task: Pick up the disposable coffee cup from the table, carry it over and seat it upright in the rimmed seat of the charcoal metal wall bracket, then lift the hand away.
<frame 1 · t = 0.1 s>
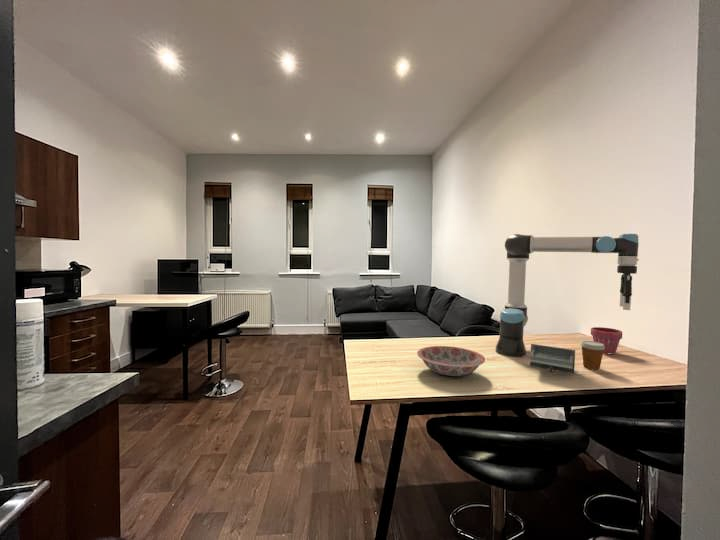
hand: (624, 308, 164), 28 cm above the table, tool pointing down, fingers open, 13 cm apart
disposable coffee cup: (591, 368, 158), on the table
plant pot: (605, 352, 186), on the table
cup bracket: (550, 373, 149), on the table
ceramic bowl: (449, 373, 148), on the table
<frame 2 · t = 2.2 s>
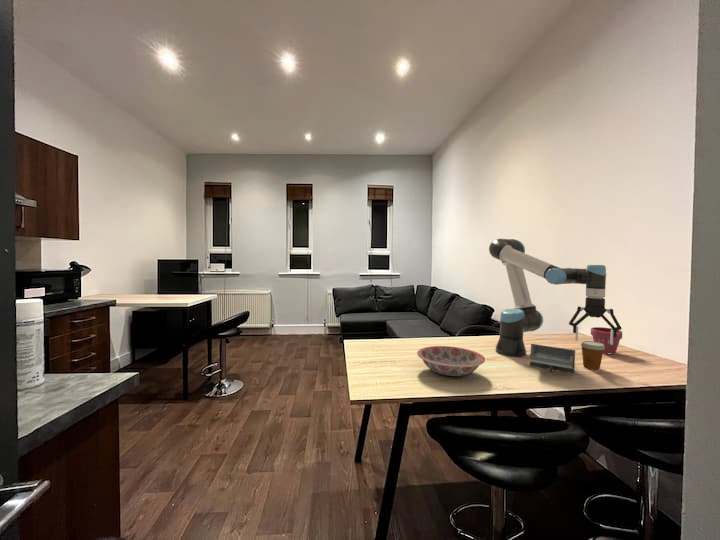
hand: (593, 342, 157), 13 cm above the table, tool pointing down, fingers open, 13 cm apart
nothing on the table moved.
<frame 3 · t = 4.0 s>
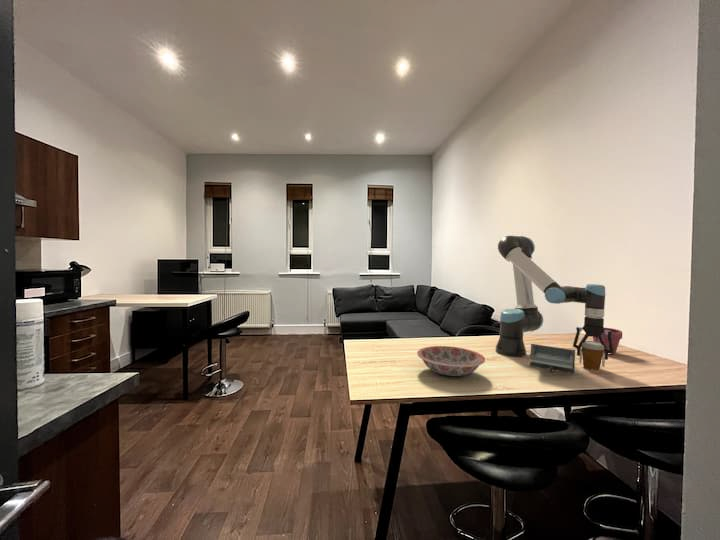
hand: (591, 364, 158), 2 cm above the table, tool pointing down, fingers closed on disposable coffee cup, 8 cm apart
disposable coffee cup: (591, 368, 158), on the table, touching gripper
everything else where it was.
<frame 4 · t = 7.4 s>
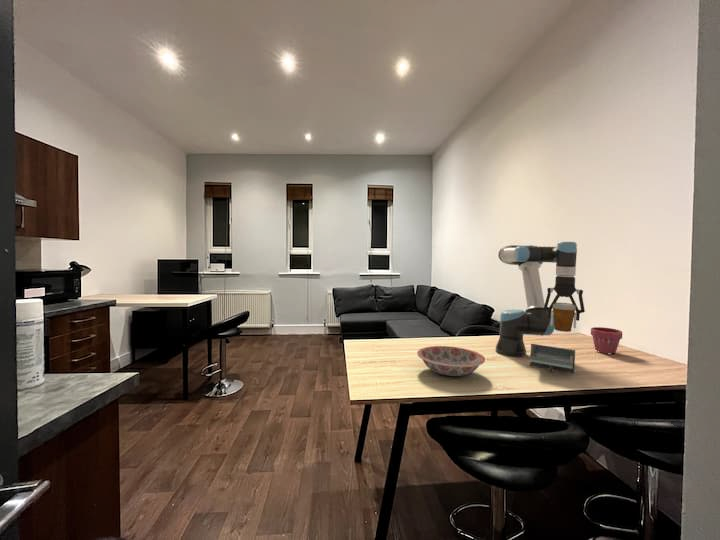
hand: (562, 326, 150), 21 cm above the table, tool pointing down, fingers closed on disposable coffee cup, 8 cm apart
disposable coffee cup: (562, 330, 150), point 19 cm above the table, touching gripper
everything else where it was.
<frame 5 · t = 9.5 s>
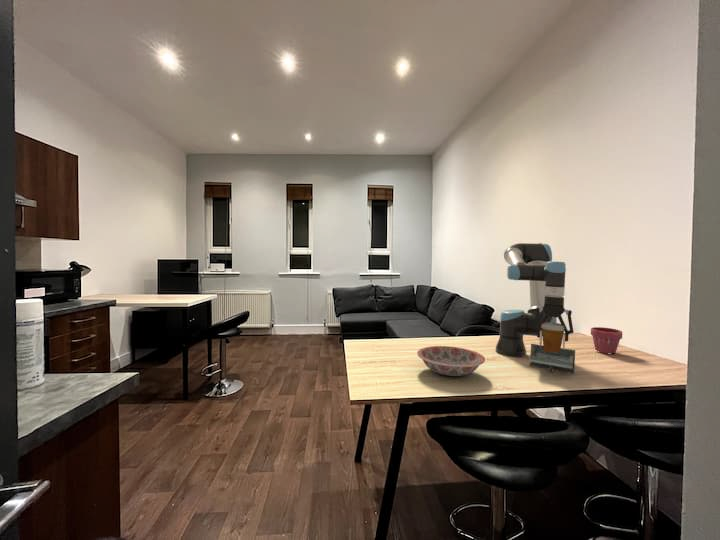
hand: (551, 346, 148), 12 cm above the table, tool pointing down, fingers closed on disposable coffee cup, 8 cm apart
disposable coffee cup: (551, 351, 148), point 10 cm above the table, touching gripper
everything else where it was.
when the fingers open (10 cm above the table, at t = 10.9 s): disposable coffee cup moves 4 cm, point 7 cm above the table.
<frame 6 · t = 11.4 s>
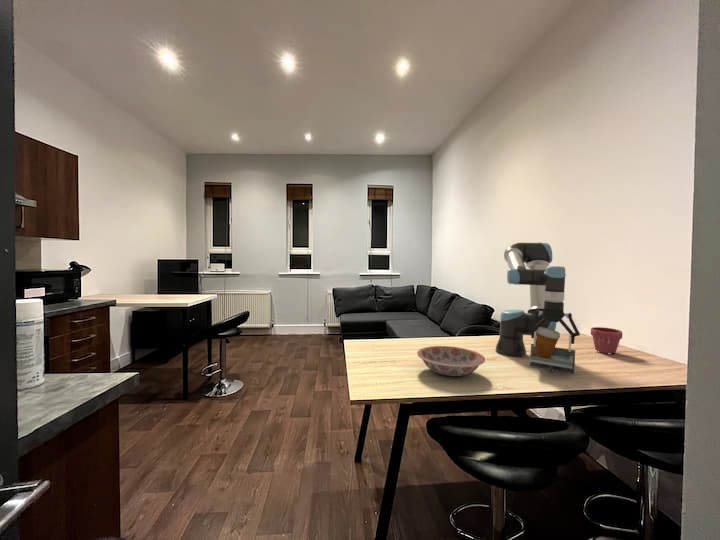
hand: (551, 348, 148), 12 cm above the table, tool pointing down, fingers open, 13 cm apart
disposable coffee cup: (542, 356, 150), point 7 cm above the table, touching gripper
everything else where it was.
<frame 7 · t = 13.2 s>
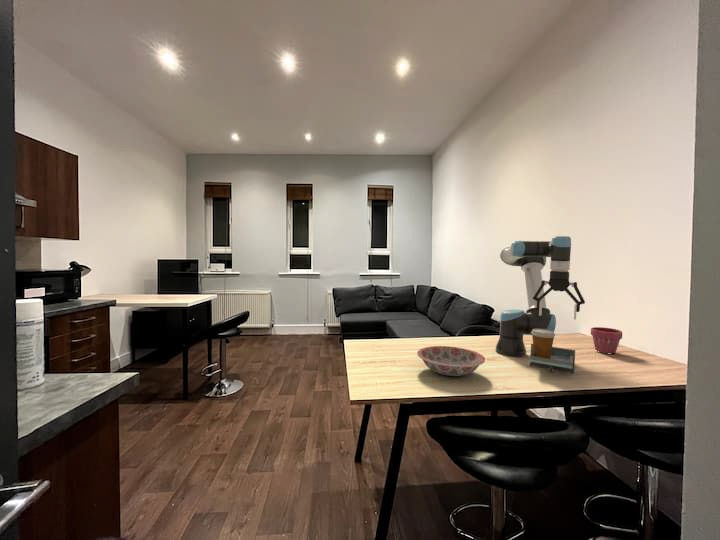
hand: (557, 317, 151), 25 cm above the table, tool pointing down, fingers open, 13 cm apart
disposable coffee cup: (542, 357, 150), point 7 cm above the table, touching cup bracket
everything else where it was.
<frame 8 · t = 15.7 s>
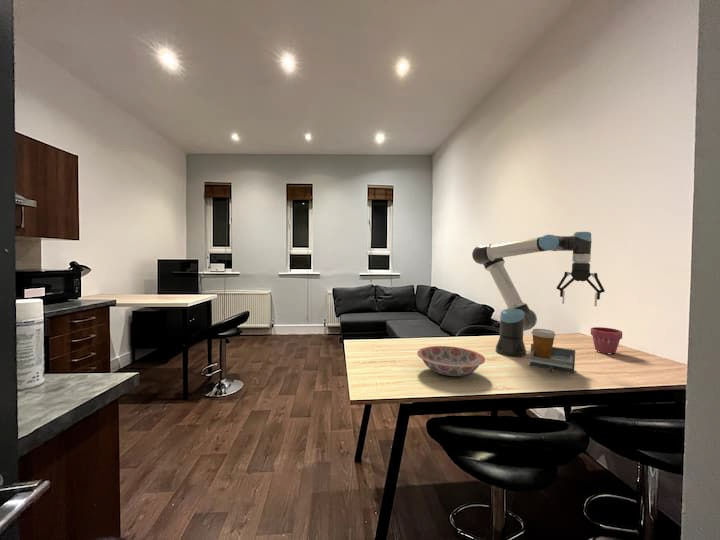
hand: (578, 304, 167), 29 cm above the table, tool pointing down, fingers open, 13 cm apart
nothing on the table moved.
at the end: disposable coffee cup inside the target area on the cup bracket (3.7 cm from its centre), point 6.8 cm above the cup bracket's base; disposable coffee cup tilted 0°; the gripper is holding nothing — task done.
